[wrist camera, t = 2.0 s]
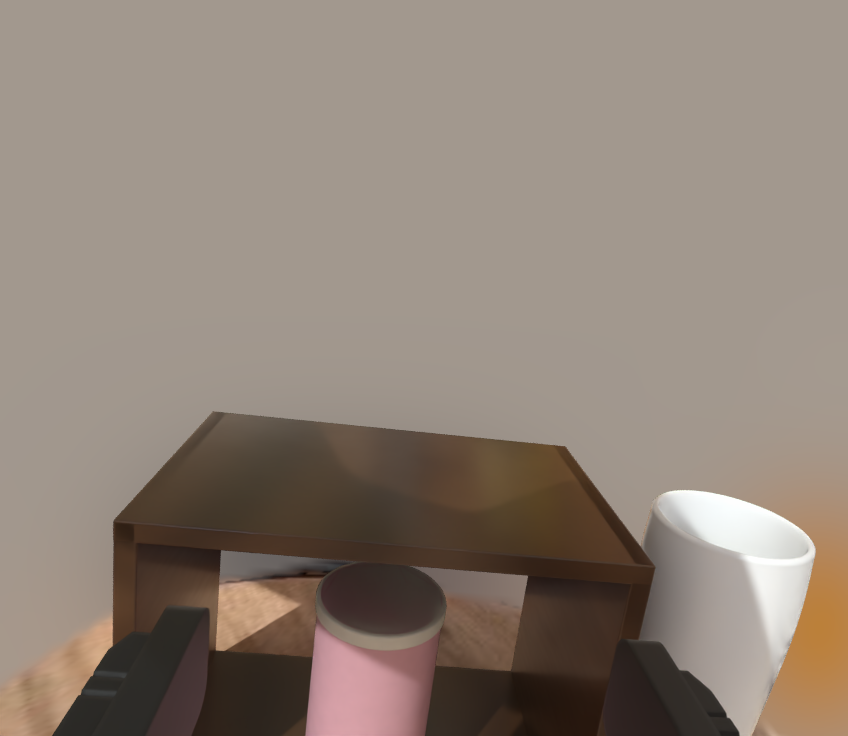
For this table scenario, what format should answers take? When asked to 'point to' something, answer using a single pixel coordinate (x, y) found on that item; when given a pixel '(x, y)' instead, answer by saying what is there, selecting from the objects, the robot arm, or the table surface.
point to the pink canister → (374, 651)
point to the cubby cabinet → (390, 560)
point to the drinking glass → (725, 594)
